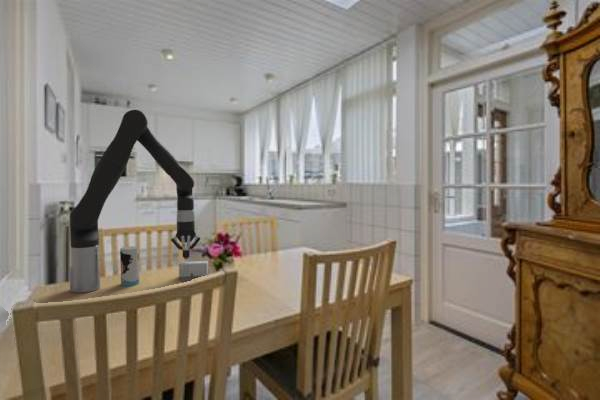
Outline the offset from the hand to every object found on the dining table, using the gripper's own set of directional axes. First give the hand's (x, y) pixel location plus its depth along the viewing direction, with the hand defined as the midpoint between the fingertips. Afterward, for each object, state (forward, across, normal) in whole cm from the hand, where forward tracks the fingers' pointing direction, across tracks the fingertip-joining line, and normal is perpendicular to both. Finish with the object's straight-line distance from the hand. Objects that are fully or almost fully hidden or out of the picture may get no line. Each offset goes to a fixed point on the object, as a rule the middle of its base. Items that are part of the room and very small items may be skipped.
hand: (186, 258), depth 148 cm
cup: (+8, -22, -5) cm, 24 cm away
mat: (+8, +4, 0) cm, 9 cm away
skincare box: (+5, -3, 0) cm, 6 cm away
